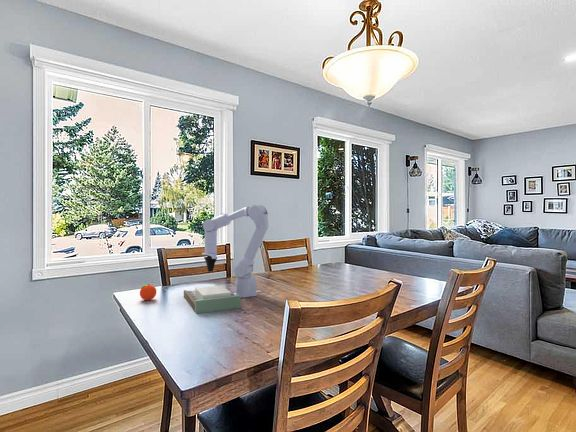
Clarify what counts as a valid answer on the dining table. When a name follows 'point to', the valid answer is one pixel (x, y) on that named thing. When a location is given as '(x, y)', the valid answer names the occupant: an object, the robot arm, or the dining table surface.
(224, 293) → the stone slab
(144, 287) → the clementine
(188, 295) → the roller track
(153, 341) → the dining table surface
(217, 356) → the dining table surface
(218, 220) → the robot arm
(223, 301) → the bar
